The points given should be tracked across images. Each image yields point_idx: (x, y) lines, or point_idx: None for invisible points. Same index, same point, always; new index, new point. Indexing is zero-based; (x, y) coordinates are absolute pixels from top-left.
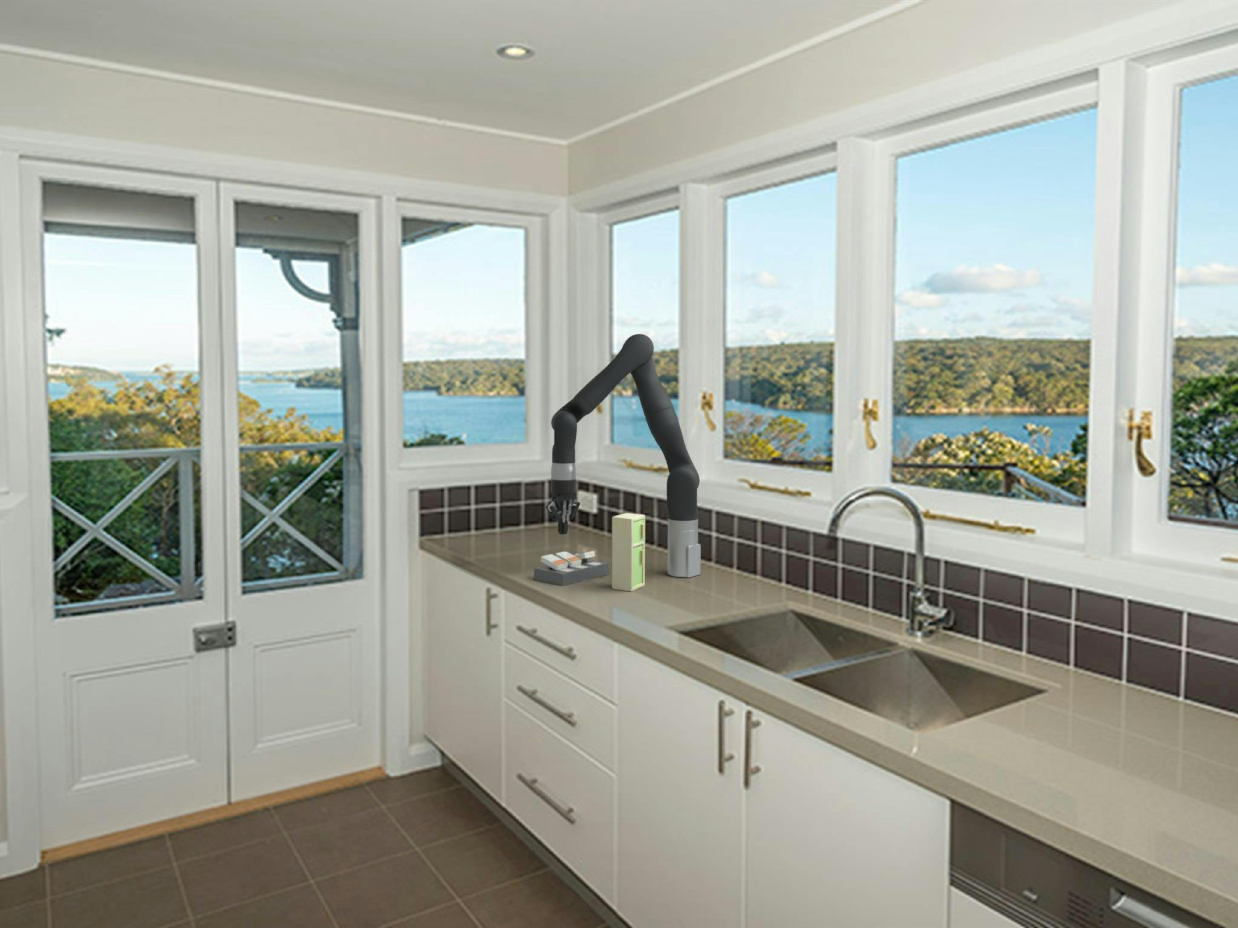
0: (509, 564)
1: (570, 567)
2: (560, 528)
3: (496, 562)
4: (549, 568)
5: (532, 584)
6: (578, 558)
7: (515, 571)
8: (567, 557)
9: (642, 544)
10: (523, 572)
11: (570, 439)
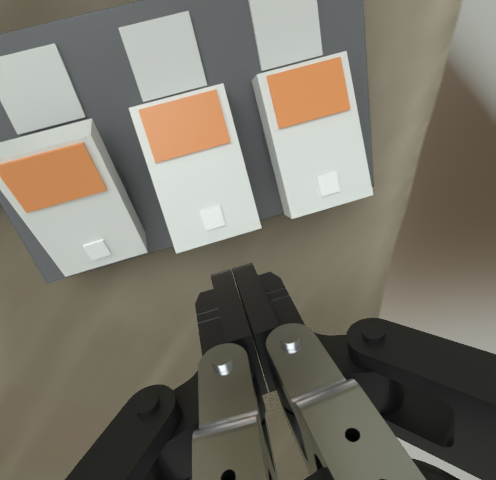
0: (270, 413)
1: None
2: (290, 301)
3: (286, 445)
4: None
5: (408, 93)
6: (145, 128)
7: (315, 323)
8: (213, 160)
9: None
10: (303, 299)
11: None
